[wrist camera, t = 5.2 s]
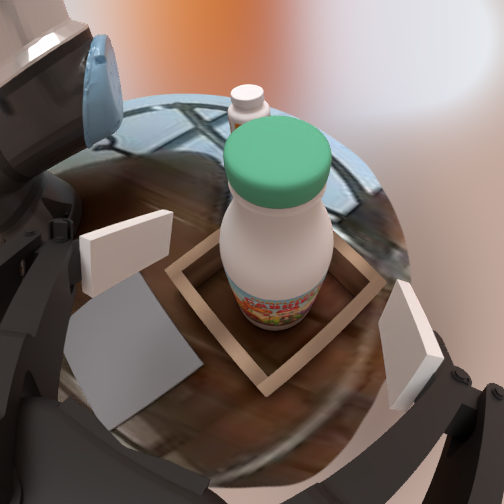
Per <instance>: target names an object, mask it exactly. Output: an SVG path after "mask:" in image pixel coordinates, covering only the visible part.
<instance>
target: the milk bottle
mask: <svg viewBox="0 0 504 504" xmlns="http://www.w3.org/2000/svg"><path fill="white" fill-rule="evenodd" d="M331 157H332V156H331V149H330V145H329V143H328V141H327V139H326V137H325V136H324V135H323V134H322V133H321V132H320V131H319V130H318V129H317V128H315V127H314V126H312V125H311V124H309V123H307V122H305V121H302V120H299V119H296V118H292V117H287V116H266V117H261V118H257V119H254V120H251V121H249V122H246V123H244V124H243V125H241V126H239V127H238V128H237V129H235V130H234V131H233V132H232V133H231V135H230V136H229V137H228V139H227V141H226V143H225V147H224V153H223V158H224V166H225V171H226V175H227V178H228V185H229V189H230V191H231V193H232V195H233V197H234V198H233V200H232V202H231V203H230V205H229V207H228V209H227V211H226V213H225V215H224V218H223V221H222V225H221V229H220V239H219V243H220V254H221V259H222V262H223V266H224V269H225V273H226V275H227V278H228V281H229V283H230V286H231V288H232V291H233V293H234V296H235V298H236V301H237V303H238V305H239V308H240V309H241V311H242V313H243V314H244V316H245V317H246V318H247V319H248V320H249V321H250V322H251V323H253V324H254V325H256V326H258V327H260V328H262V329H266V330H273V331H277V330H284V329H288V328H290V327H293V326H294V325H296V324H298V323H299V322H300V321H301V320H302V319H303V318H304V317H305V316H306V315H307V313H308V312H309V310H310V308H311V306H312V304H313V302H314V300H315V298H316V296H317V294H318V292H319V290H320V288H321V285H322V283H323V281H324V278H325V276H326V274H327V271H328V268H329V265H330V262H331V258H332V253H333V244H334V239H333V229H332V224H331V221H330V217H329V215H328V213H327V210H326V208H325V207H324V205H323V203H322V201H321V198H322V196H323V194H324V192H325V189H326V185H327V179H328V176H329V172H330V166H331Z"/></svg>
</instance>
